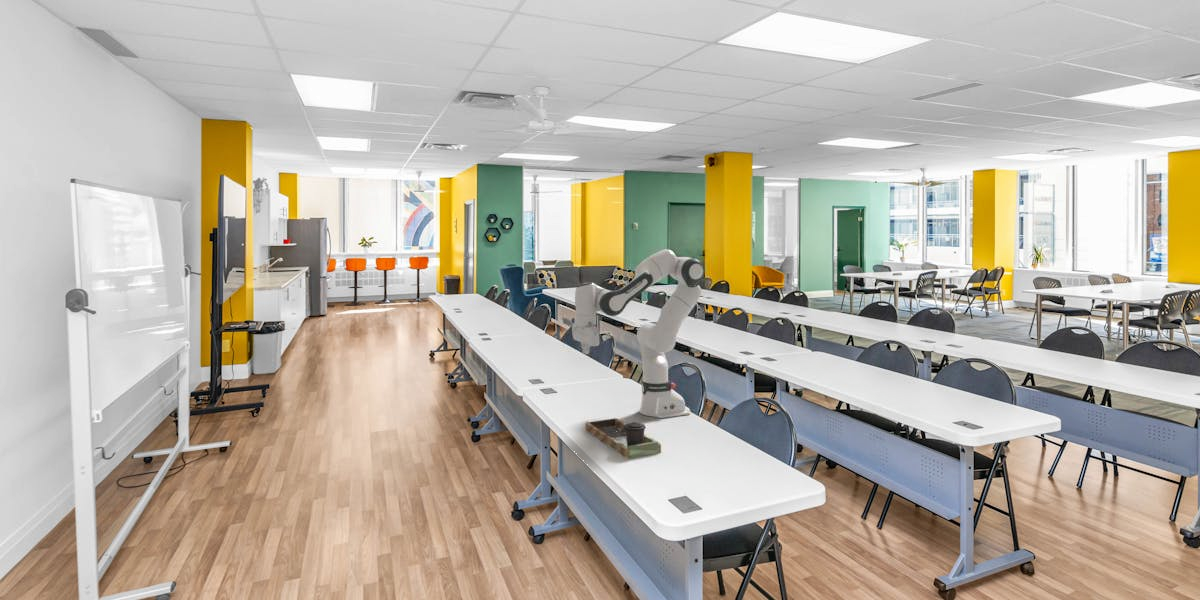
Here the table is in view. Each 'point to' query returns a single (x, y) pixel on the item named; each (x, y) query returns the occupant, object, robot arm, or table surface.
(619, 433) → the mats
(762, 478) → the table surface
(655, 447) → the trap box
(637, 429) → the coffee cup
